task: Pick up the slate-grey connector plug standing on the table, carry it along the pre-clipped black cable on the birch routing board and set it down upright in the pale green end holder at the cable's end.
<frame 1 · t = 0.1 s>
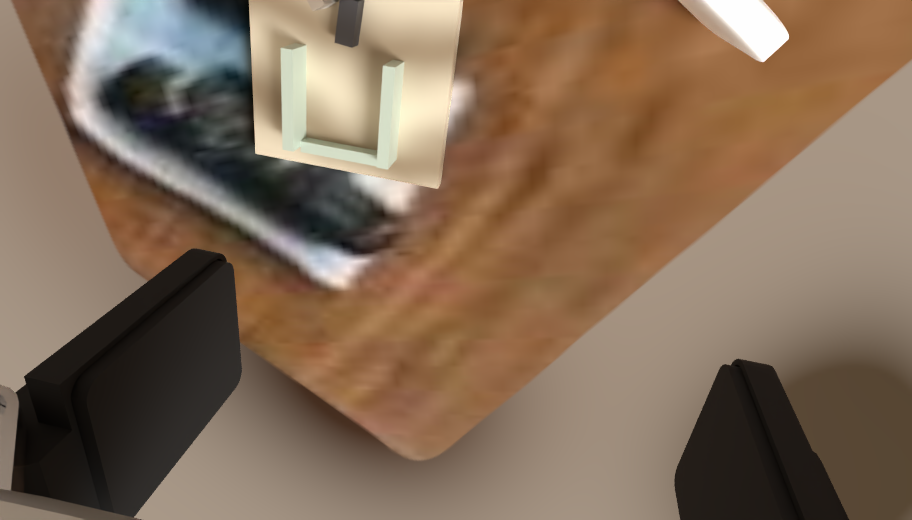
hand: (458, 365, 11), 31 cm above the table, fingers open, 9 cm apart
routing board: (356, 24, 39), on the table
end holder: (353, 99, 41), resting on routing board
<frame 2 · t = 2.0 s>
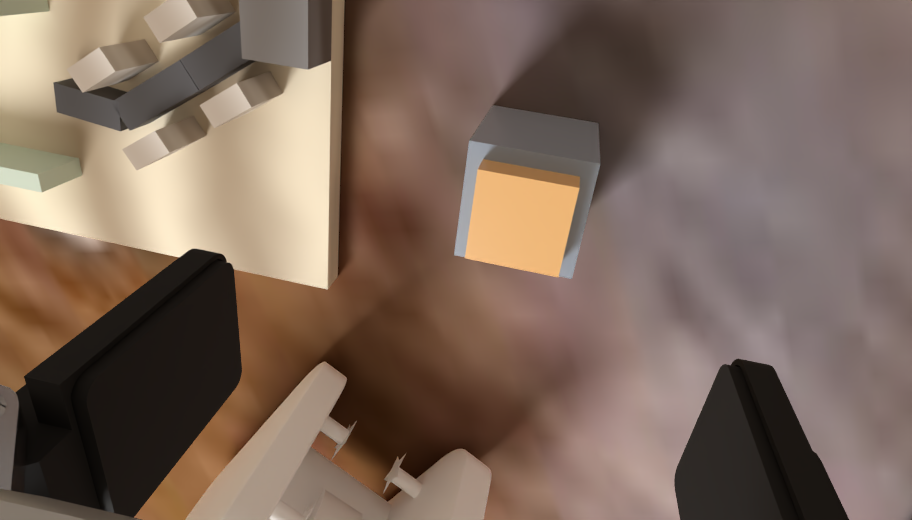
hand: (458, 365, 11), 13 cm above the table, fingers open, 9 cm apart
routing board: (120, 89, 25), on the table
connector: (535, 164, 23), on the table
cable organizer: (351, 459, 33), on the table
end holder: (17, 71, 26), resting on routing board
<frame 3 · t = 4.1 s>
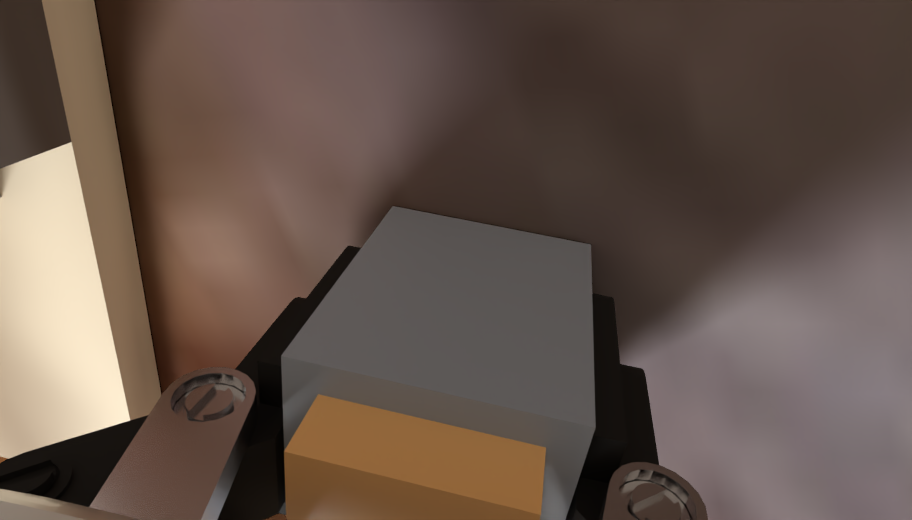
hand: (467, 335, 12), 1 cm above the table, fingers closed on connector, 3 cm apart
connector: (476, 308, 12), on the table, touching gripper
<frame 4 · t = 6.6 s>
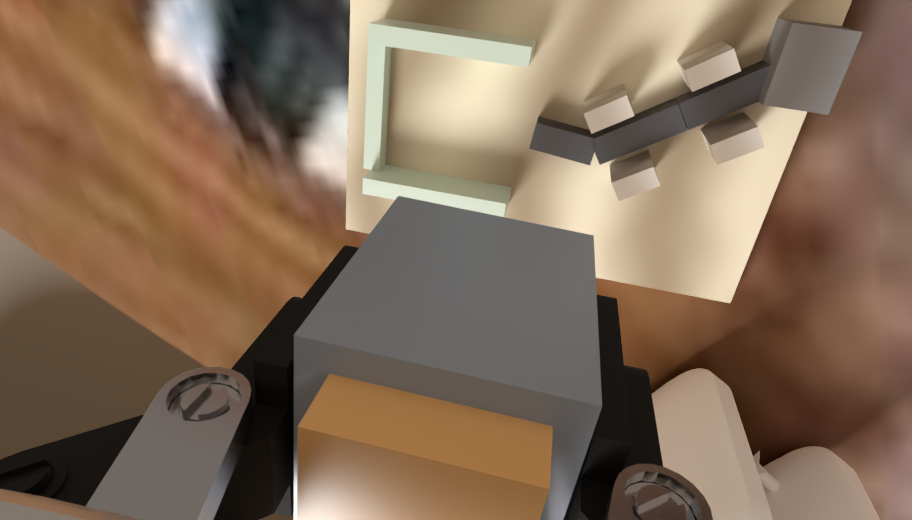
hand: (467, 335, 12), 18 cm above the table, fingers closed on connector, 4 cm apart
routing board: (557, 125, 28), on the table
connector: (479, 298, 13), point 17 cm above the table, touching gripper
cable organizer: (676, 457, 36), on the table
end holder: (455, 109, 28), resting on routing board
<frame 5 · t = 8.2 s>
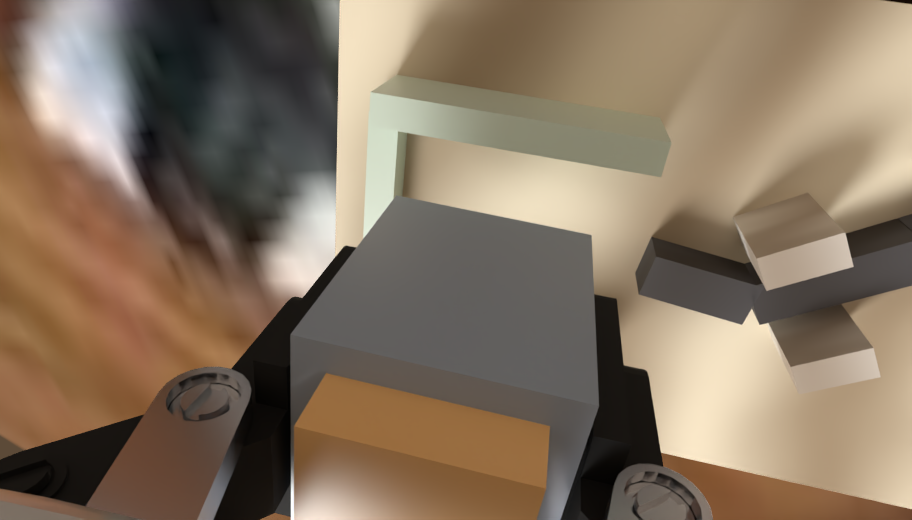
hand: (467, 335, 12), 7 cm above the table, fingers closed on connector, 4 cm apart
routing board: (673, 243, 17), on the table
connector: (477, 297, 13), point 6 cm above the table, touching gripper
end holder: (506, 212, 18), resting on routing board
when the fingers open (3 cm above the table, at t = 9.3 s): connector stays where it is, resting on routing board.
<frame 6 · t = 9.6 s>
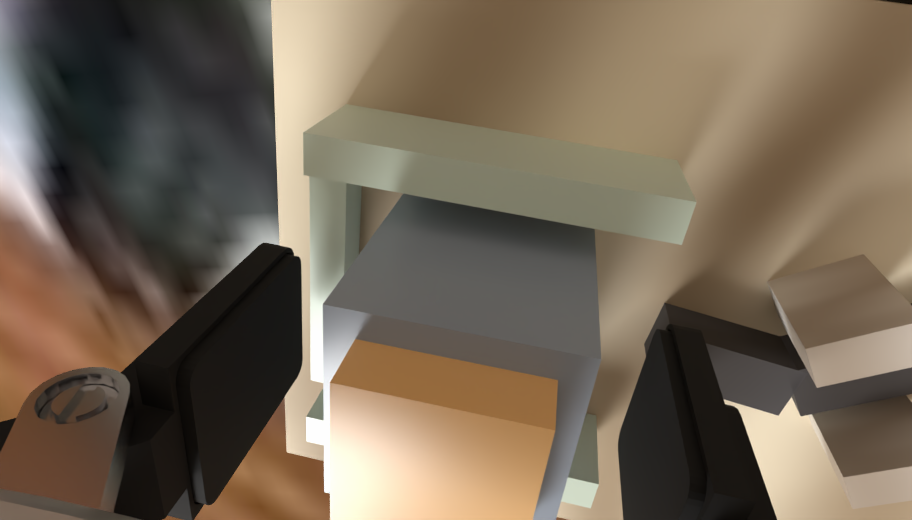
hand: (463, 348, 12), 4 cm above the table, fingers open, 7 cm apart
routing board: (689, 304, 14), on the table
connector: (488, 278, 13), point 1 cm above the table, touching routing board
end holder: (488, 265, 15), resting on routing board
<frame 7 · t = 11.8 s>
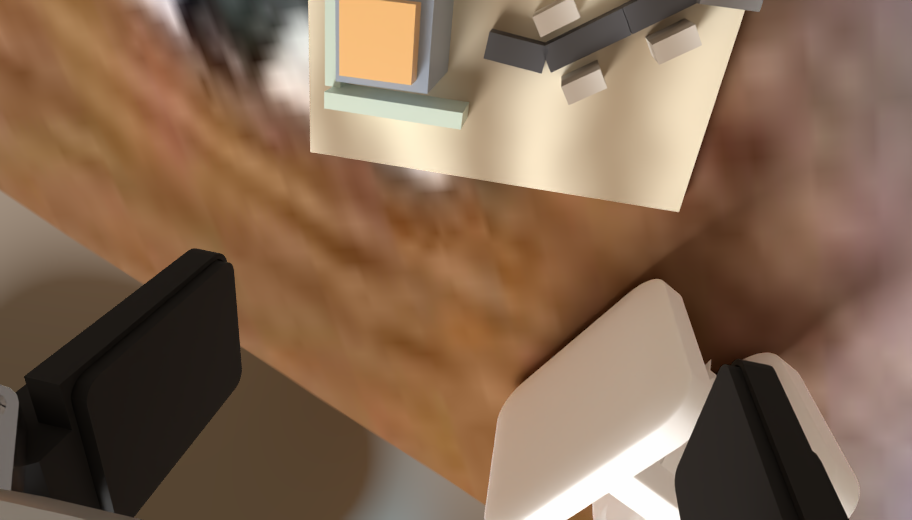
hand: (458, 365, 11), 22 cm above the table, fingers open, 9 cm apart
routing board: (511, 40, 29), on the table
connector: (410, 23, 28), point 1 cm above the table, touching routing board
cable organizer: (635, 374, 37), on the table
end holder: (413, 26, 29), resting on routing board
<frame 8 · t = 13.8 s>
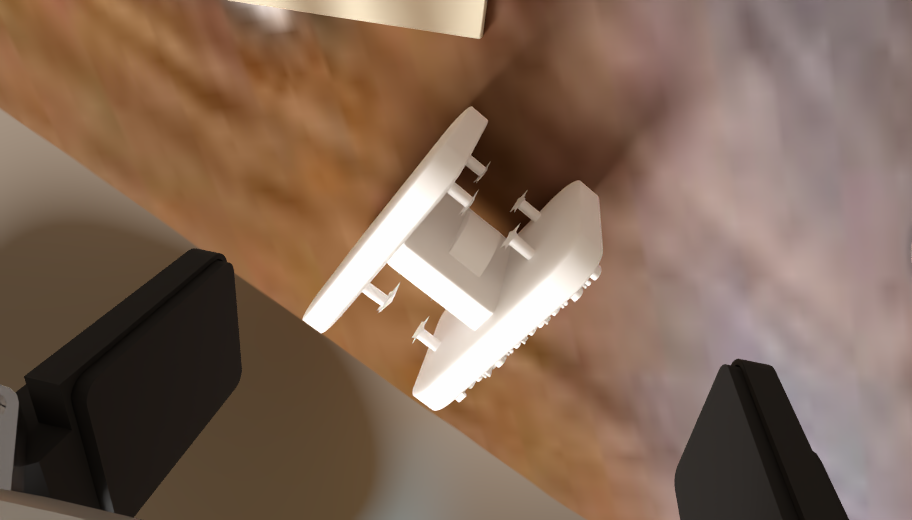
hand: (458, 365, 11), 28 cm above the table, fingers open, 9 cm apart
cable organizer: (473, 216, 41), on the table
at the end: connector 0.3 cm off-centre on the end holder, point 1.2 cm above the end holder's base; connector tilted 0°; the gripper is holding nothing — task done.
